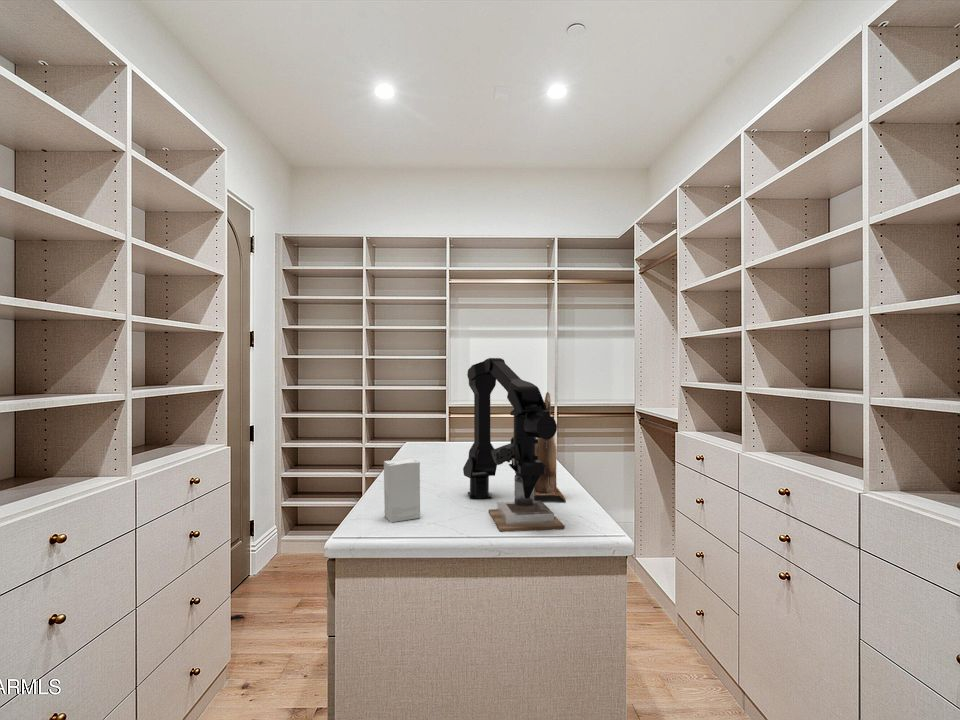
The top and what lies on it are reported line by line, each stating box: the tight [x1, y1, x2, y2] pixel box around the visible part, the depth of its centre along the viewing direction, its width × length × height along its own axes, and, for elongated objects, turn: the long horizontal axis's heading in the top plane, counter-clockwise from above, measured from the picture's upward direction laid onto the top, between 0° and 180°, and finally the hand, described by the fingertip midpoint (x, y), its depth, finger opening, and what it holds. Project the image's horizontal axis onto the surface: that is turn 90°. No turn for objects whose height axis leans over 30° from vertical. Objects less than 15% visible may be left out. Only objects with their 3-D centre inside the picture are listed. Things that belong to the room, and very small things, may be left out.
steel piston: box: [513, 474, 535, 506], centre depth 127 cm, size 5×5×7 cm
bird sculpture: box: [534, 391, 567, 503], centre depth 149 cm, size 11×12×32 cm
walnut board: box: [488, 508, 566, 533], centre depth 127 cm, size 16×16×1 cm
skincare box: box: [383, 457, 421, 524], centre depth 128 cm, size 8×6×15 cm
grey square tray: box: [496, 500, 555, 525], centre depth 127 cm, size 12×12×2 cm
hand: (524, 495), depth 127 cm, fingers closed on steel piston, 5 cm apart
